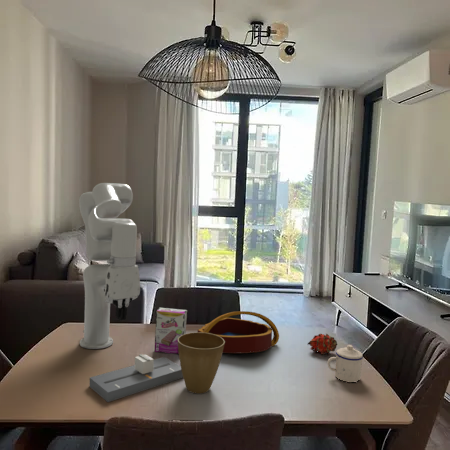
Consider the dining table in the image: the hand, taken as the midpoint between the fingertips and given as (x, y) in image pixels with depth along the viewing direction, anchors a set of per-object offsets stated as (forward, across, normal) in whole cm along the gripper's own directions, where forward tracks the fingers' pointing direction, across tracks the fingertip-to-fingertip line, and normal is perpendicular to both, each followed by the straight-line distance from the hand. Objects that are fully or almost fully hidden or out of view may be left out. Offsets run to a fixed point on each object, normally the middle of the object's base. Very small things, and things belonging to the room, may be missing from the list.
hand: (120, 318), depth 135 cm
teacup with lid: (+21, +65, -42) cm, 80 cm away
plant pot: (+21, +19, -18) cm, 34 cm away
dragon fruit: (+22, +78, -24) cm, 84 cm away
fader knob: (+18, +8, -3) cm, 20 cm away
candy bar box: (+22, +29, +12) cm, 38 cm away
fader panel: (+21, +6, -3) cm, 22 cm away
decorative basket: (+22, +55, 0) cm, 59 cm away
